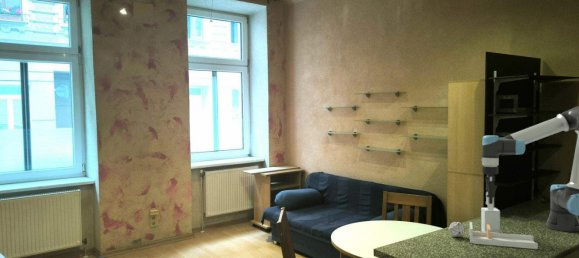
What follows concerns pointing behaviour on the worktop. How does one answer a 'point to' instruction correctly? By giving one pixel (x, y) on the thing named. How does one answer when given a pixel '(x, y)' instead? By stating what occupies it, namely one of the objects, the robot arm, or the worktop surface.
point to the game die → (456, 229)
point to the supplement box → (490, 220)
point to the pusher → (488, 232)
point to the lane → (502, 239)
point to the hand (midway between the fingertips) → (489, 207)
